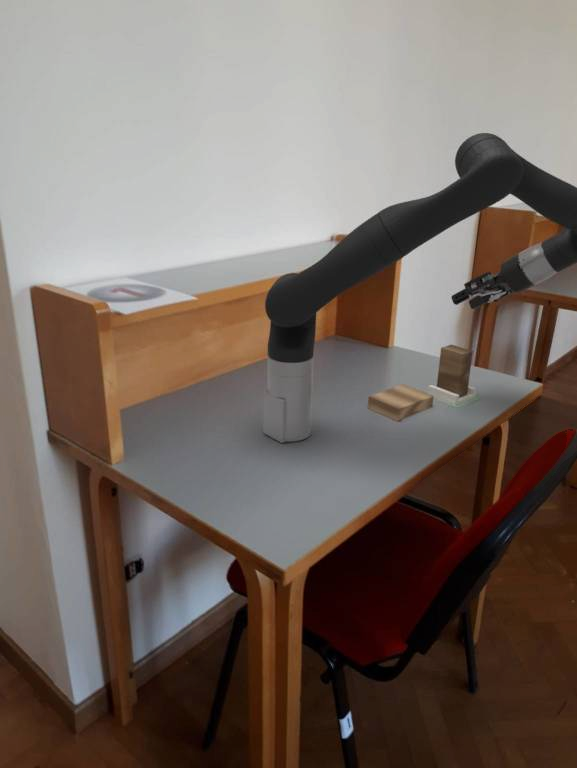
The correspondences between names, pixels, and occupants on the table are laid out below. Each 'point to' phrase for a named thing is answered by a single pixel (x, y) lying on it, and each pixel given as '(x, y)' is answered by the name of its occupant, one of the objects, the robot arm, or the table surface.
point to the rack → (451, 395)
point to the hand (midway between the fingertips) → (462, 303)
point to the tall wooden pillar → (454, 369)
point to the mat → (460, 403)
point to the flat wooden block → (400, 402)
